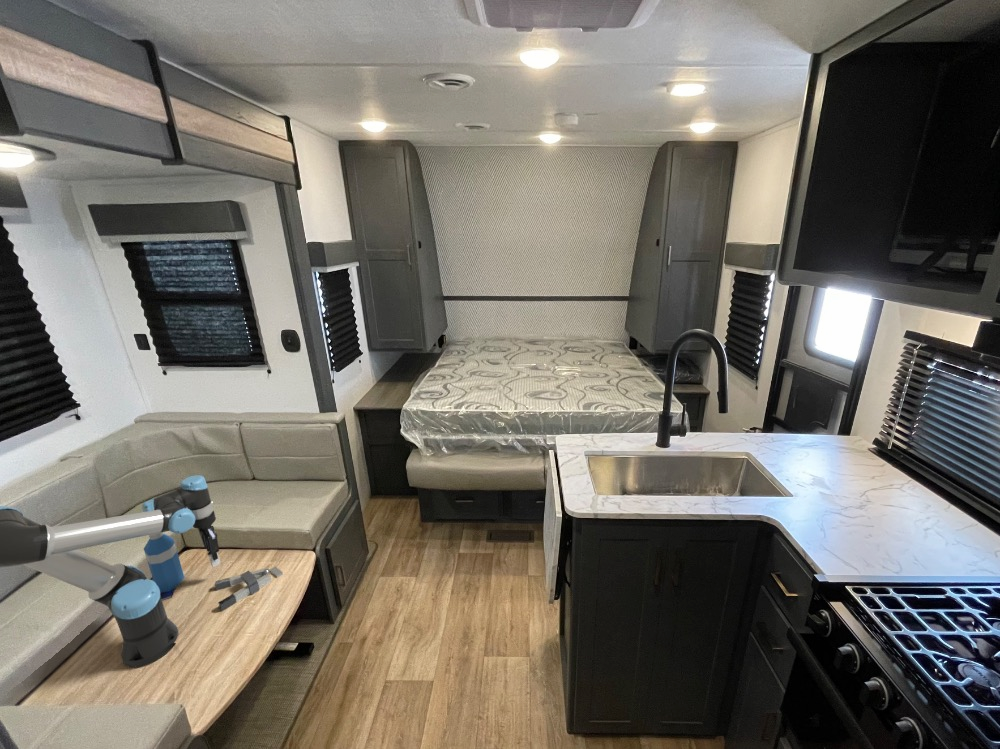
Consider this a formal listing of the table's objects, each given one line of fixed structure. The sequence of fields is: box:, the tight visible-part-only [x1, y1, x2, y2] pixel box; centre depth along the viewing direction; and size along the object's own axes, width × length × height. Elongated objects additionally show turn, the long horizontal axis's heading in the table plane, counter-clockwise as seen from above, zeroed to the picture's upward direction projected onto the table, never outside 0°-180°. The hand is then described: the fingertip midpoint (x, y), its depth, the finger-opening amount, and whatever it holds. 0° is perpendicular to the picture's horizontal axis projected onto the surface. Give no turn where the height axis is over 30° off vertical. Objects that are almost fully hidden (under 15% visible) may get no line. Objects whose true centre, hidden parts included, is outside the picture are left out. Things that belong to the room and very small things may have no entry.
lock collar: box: [239, 570, 261, 596], centre depth 166 cm, size 3×7×6 cm, turn 54°
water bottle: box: [143, 532, 185, 593], centre depth 167 cm, size 9×9×25 cm
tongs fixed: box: [217, 566, 284, 612], centre depth 166 cm, size 23×6×3 cm, turn 144°
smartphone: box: [160, 588, 176, 602], centre depth 168 cm, size 7×1×15 cm
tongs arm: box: [214, 567, 271, 591], centre depth 169 cm, size 19×4×4 cm, turn 114°
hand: (216, 564), depth 170 cm, fingers closed
